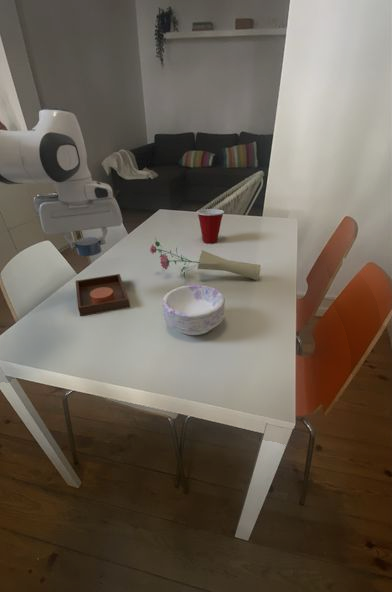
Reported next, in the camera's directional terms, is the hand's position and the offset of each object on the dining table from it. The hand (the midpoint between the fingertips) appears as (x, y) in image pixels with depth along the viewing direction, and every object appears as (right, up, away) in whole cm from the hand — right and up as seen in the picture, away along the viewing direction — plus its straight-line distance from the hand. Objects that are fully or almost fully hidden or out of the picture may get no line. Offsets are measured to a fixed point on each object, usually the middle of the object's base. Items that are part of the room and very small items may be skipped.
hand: (88, 245), depth 87 cm
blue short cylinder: (0, -1, +1) cm, 2 cm away
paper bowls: (+29, -22, -5) cm, 37 cm away
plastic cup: (+35, +16, +44) cm, 59 cm away
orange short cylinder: (+3, -15, +5) cm, 16 cm away
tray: (+1, -13, +8) cm, 15 cm away
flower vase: (+32, -5, +17) cm, 37 cm away
